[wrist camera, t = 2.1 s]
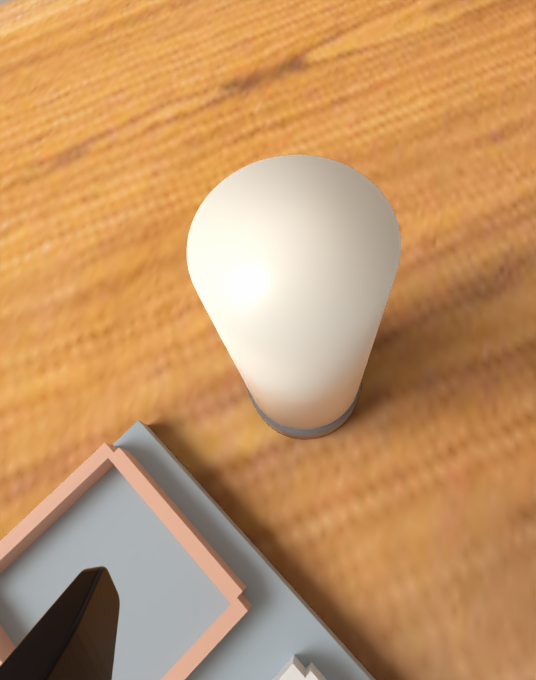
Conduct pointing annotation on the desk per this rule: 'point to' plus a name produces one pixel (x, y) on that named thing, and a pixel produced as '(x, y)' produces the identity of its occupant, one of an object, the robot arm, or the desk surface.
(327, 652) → the socket board
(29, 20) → the desk surface
